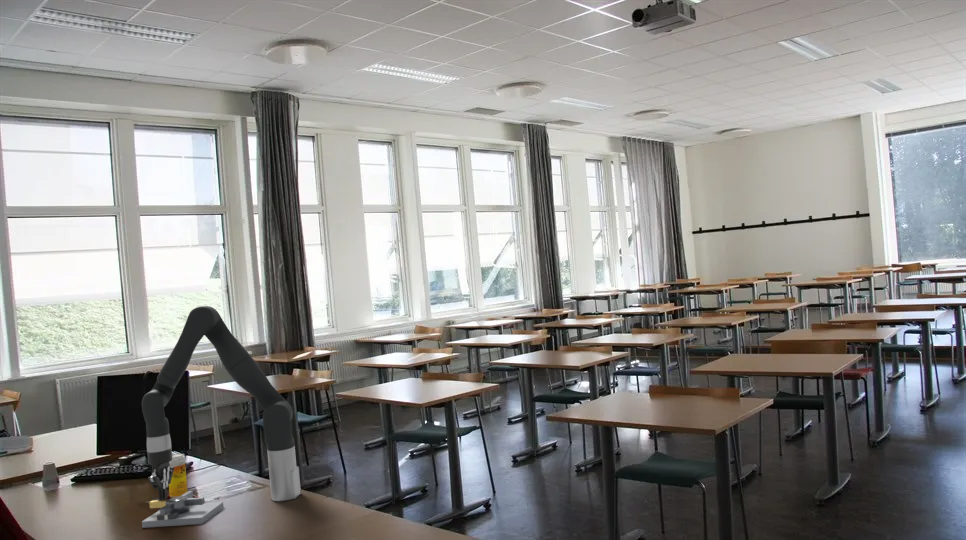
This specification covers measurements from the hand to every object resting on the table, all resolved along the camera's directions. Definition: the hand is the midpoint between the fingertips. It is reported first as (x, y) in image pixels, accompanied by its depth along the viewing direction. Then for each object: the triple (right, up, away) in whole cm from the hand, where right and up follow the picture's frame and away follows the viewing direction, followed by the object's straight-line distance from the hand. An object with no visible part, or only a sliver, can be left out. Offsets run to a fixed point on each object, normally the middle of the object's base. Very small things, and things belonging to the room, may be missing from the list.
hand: (163, 499), depth 233 cm
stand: (+10, -4, -7) cm, 13 cm away
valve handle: (+8, -2, -7) cm, 10 cm away
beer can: (-3, -5, +19) cm, 20 cm away
